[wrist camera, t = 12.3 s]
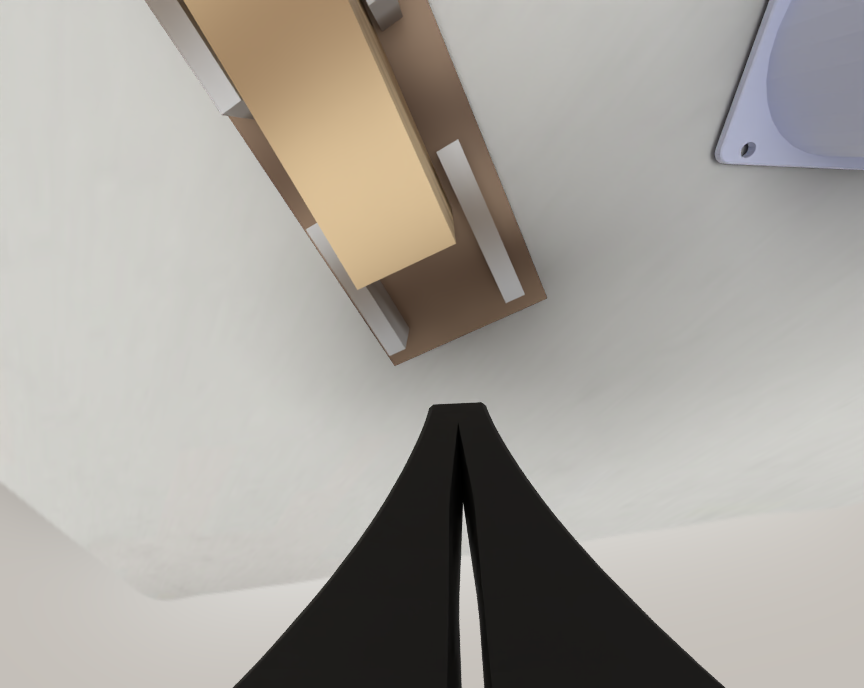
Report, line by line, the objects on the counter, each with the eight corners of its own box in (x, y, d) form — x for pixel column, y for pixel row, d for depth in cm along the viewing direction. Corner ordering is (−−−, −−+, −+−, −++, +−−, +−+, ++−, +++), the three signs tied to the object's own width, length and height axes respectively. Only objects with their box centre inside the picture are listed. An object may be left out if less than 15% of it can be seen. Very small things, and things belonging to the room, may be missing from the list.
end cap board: (541, 290, 17) (563, 321, 14) (397, 356, 19) (387, 395, 16) (327, -240, 10) (276, -408, 7) (132, -50, 12) (25, -117, 9)
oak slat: (452, 209, 15) (456, 243, 9) (387, 241, 15) (357, 289, 10) (290, -167, 10) (124, -505, 5) (208, -97, 11) (-14, -328, 6)
